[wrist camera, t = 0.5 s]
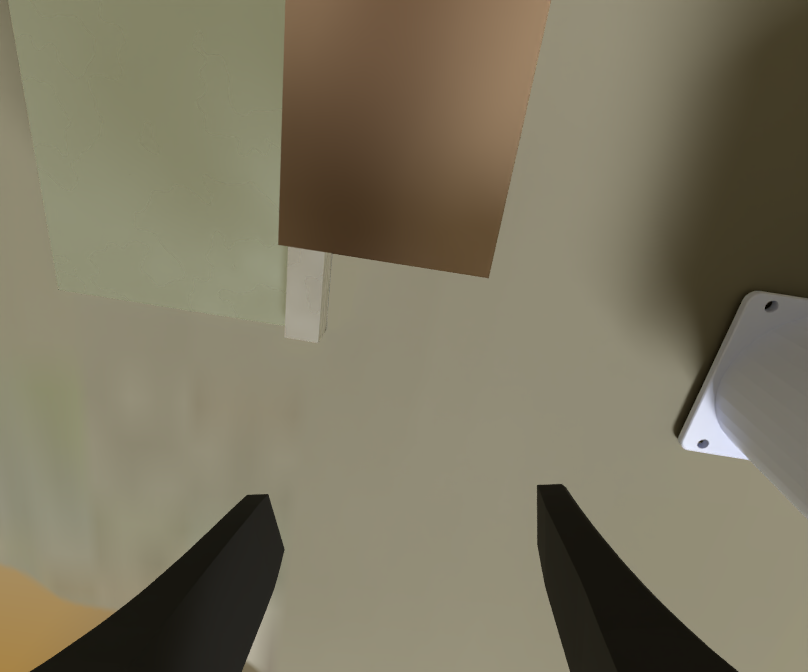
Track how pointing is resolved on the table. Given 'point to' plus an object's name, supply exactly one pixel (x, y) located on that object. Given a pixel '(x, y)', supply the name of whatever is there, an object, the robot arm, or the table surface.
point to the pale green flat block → (167, 155)
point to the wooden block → (404, 126)
